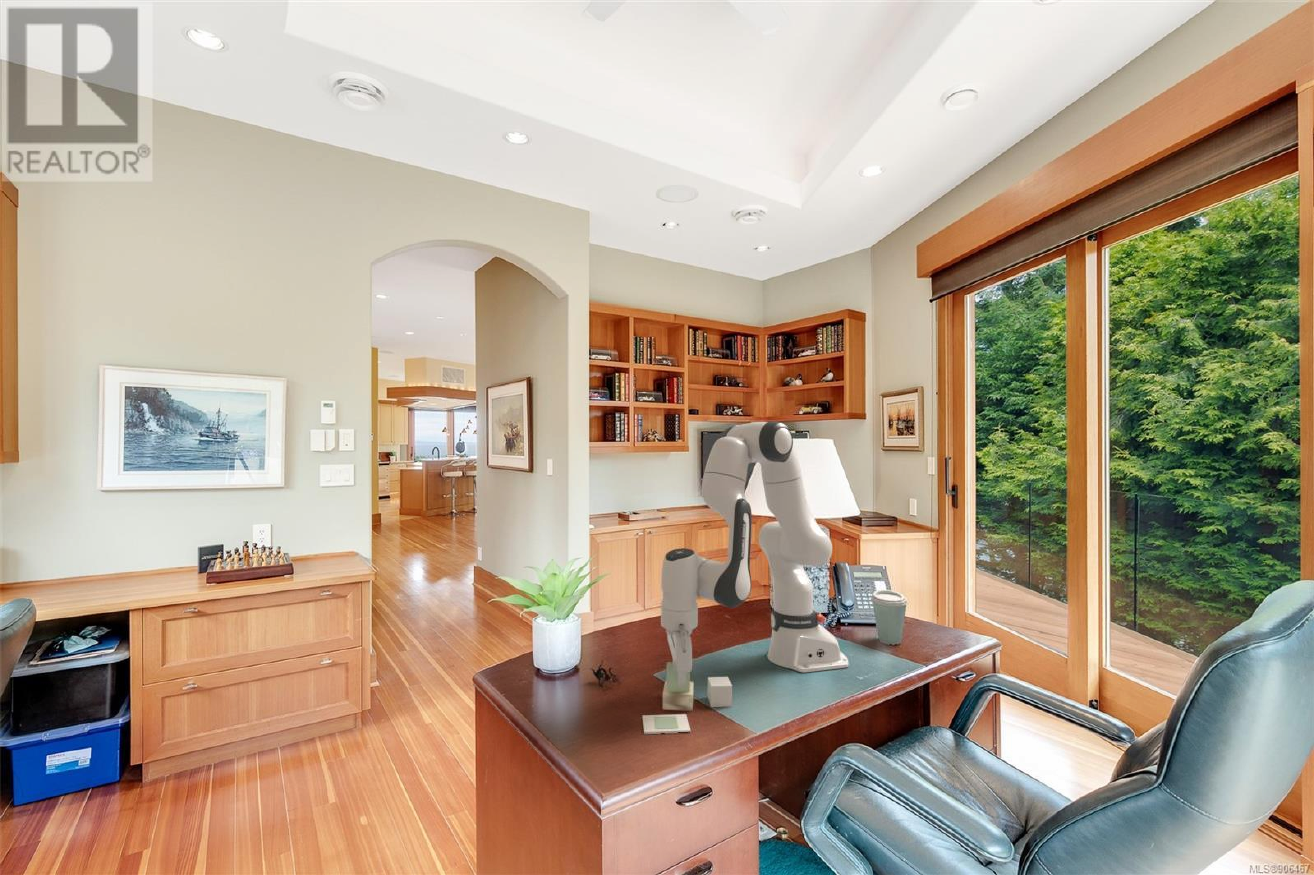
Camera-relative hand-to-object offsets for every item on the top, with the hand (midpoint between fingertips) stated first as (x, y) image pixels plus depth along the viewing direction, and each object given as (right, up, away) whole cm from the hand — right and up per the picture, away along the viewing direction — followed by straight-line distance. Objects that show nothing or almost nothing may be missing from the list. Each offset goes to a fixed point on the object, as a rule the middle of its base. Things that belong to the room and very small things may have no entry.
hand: (678, 675), depth 133 cm
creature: (-18, -7, +10) cm, 21 cm away
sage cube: (0, -3, 0) cm, 3 cm away
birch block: (0, -7, 0) cm, 7 cm away
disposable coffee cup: (+68, -7, +41) cm, 80 cm away
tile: (-3, -7, -10) cm, 13 cm away
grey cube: (+10, -7, +1) cm, 12 cm away
